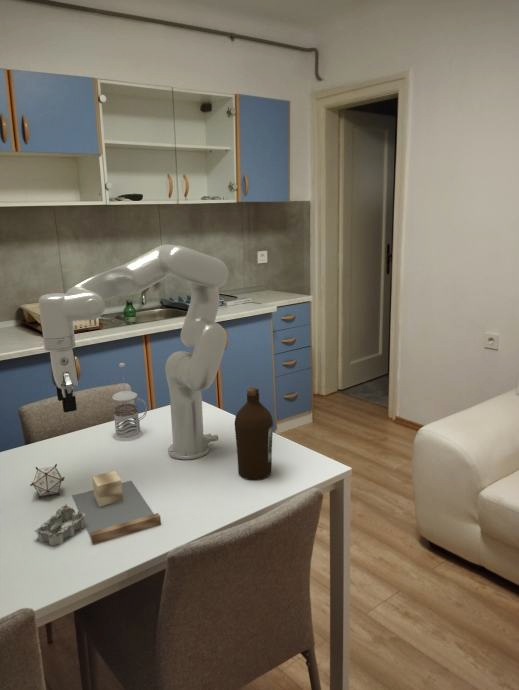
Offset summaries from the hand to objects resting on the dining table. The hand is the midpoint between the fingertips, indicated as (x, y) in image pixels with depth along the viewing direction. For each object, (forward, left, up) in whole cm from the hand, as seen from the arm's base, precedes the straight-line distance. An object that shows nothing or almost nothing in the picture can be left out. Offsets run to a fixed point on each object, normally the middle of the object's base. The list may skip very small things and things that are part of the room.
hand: (67, 405), depth 147 cm
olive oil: (-46, +18, -24) cm, 55 cm away
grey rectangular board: (-6, +17, -24) cm, 29 cm away
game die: (+7, +1, -24) cm, 25 cm away
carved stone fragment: (+7, +21, -24) cm, 33 cm away
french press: (-23, -27, -24) cm, 43 cm away
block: (-6, +12, -23) cm, 27 cm away
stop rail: (-6, +29, -24) cm, 38 cm away
